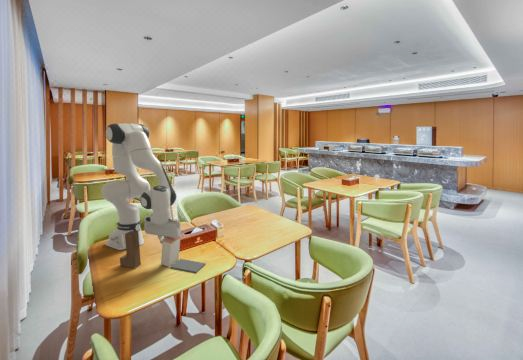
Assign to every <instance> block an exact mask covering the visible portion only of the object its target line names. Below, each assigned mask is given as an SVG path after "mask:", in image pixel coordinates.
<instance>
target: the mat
mask: <svg viewBox="0 0 523 360" xmlns="http://www.w3.org/2000/svg"><path fill="white" fill-rule="evenodd" d="M205 266H206V262H200V261H194V260H191V259H190V260H189V259H184V258H179V260H178V261H177V262H175V263H174V264H173V265H171V266H170V267H169V268H170V269H174V270H178V271H179V270H180V271H184V272H185V271H186V272H189V273H195V274H198V272H199V271H200V270H202V269H203V267H205Z"/></svg>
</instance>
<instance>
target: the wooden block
mask: <svg viewBox="0 0 523 360" xmlns="http://www.w3.org/2000/svg"><path fill="white" fill-rule="evenodd" d="M125 240H126V249H125V251H126V254H125V255H122V256H121V257H119V264H120V267H125V268H129V269H130V268H131V269H136V268H138V267H140V266H141V265H142V262H141V249H140V246H139V234H138V232H136V231H130V232H128V233H126V234H125Z"/></svg>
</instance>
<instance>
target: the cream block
mask: <svg viewBox="0 0 523 360" xmlns="http://www.w3.org/2000/svg"><path fill="white" fill-rule="evenodd" d="M181 236H182V235H181ZM181 236H180V237H178V238H172V237H166V238H164V237H163V243H161V244H162V245H161V258H160V259H161V260H160V265H162V266H165V267H168V268H170V267H171V266H172V265H173V264H174V263H176V262H177V261H178V260H180V258H179V257H180V248H181V247H180V246H181Z"/></svg>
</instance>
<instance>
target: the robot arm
mask: <svg viewBox="0 0 523 360" xmlns="http://www.w3.org/2000/svg"><path fill="white" fill-rule="evenodd" d="M105 137H106V139H107V140H108V142H110V143H111V155H112V165H113V170H114V171H115V172H116V173H117V174H119V175H122V176H125V180H117V181H110V182H107V183H105V184H103V185H102V187H101V191H100V192H101V195H102V198H103V199H104V200H105V201H106V202H109V203H111V204H112V205H113V206H114V207H115V209H116V212H117V215H118V222H117V223H115V226H117V227H116V228H115V229H114V230H113V231H111V232H110V234H109V235H108V240H107V241H105V242H104V246H107V247H110V248H112V249H116V250H119V251H122V250H126V240H125V234H126V233H128V232H130V231H136V232H138V234H139V247H140V246H142V245H143V244H144V243H145V240H144V236H143V231H142V228H141V227H142V222H141V221H142V220H141V219H140V209H139V206H137V205H136V204H132V203H129V202H128V200H130V199H135V198H136V199H137V198H140V199H139V201H140V206H142V207H143V209H145V210H152V212H151V214H149V215H146V216H145V217H144V218H143V220H144V223H143V225H144V226H143V227H144V232H145V234H147V235H152V236H157V238H158V240H159V243H160V244H162V243H163V239H164V238H166V237H172V238H178V237H180V236H182V228H181V222H180V221H179V220H178V219H175V218H172V210H171V206H173V205H174V204H175V203H176V201H177V193H176V191H175V189H174V187H173V186H172V184H171V181H170V178H169V177H168V174H167V170H166V169H165V167H164V165H163V163H162V161H161V160H159V159H158V158H157V157H156V156H155V154H154V152H153V150H152V145H151V142H150V140H149V137H150V129H148V127H147V125H144V124H141V123H132V122H127V123H125V122H123V123H110V124H108V125H107V127H106V128H105ZM137 167H138V168H139V169H142V170H146V171H149V172H151V173H153V174H154V175H155V176H156V177H157V180H158V182H159V185H155V186H152V188H151V183H149V181H148V180H146V179H145V178H144V177H142V176H141V174H140V173H139V172H138V170H137Z"/></svg>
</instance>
